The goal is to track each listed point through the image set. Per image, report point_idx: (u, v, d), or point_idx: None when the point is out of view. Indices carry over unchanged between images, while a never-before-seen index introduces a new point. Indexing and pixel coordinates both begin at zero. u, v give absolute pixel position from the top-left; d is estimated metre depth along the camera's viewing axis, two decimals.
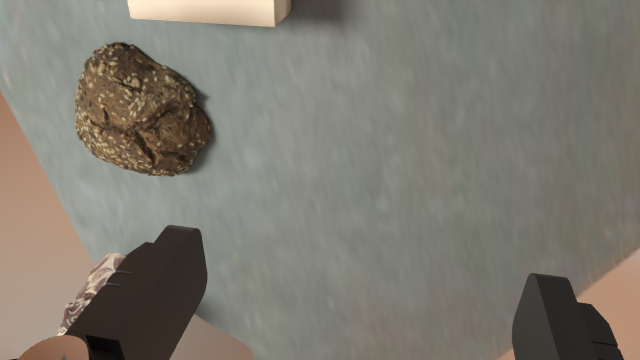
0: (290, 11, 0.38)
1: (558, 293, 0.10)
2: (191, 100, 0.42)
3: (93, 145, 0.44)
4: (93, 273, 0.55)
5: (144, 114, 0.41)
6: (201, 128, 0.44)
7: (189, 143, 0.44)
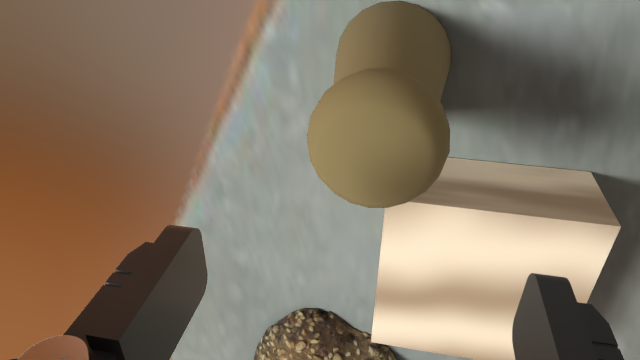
0: None
1: (558, 293, 0.10)
2: None
3: None
4: None
5: None
6: None
7: None
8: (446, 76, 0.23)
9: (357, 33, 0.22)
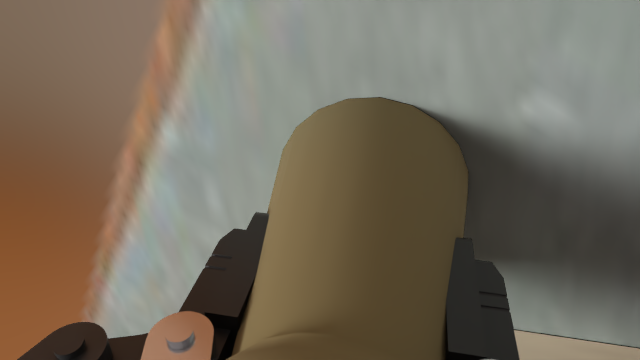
0: None
1: (459, 251, 0.11)
2: None
3: None
4: None
5: None
6: None
7: None
8: (462, 236, 0.13)
9: (300, 169, 0.12)
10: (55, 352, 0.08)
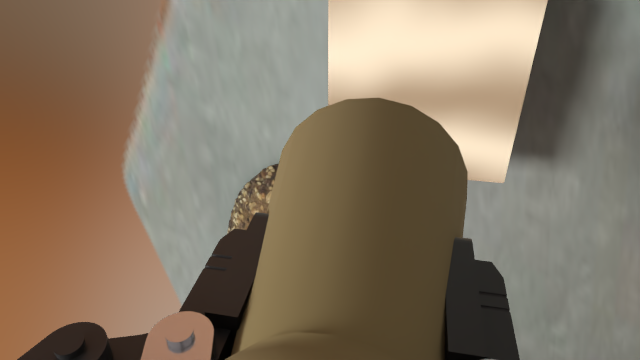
0: None
1: (459, 251, 0.11)
2: None
3: None
4: None
5: None
6: None
7: None
8: (462, 236, 0.13)
9: (299, 170, 0.12)
10: (55, 352, 0.08)
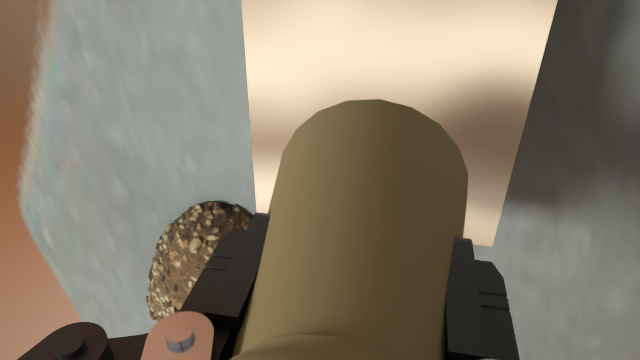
0: None
1: (459, 251, 0.11)
2: None
3: None
4: None
5: None
6: None
7: None
8: None
9: (300, 171, 0.12)
10: (55, 352, 0.08)
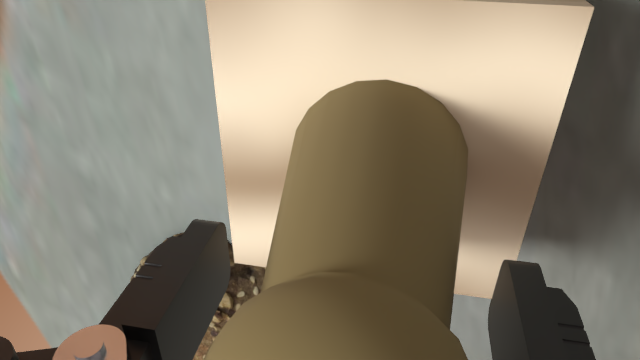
0: None
1: (528, 278, 0.10)
2: None
3: None
4: None
5: None
6: None
7: None
8: (463, 206, 0.14)
9: (315, 143, 0.13)
10: None
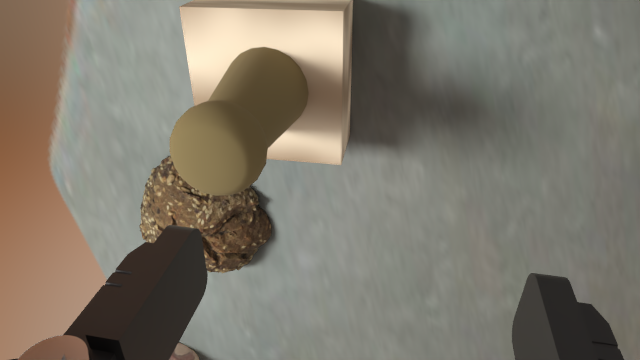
0: None
1: (558, 293, 0.10)
2: (255, 205, 0.44)
3: None
4: None
5: (211, 221, 0.43)
6: (263, 229, 0.45)
7: (252, 243, 0.45)
8: (297, 102, 0.31)
9: (227, 72, 0.30)
10: None
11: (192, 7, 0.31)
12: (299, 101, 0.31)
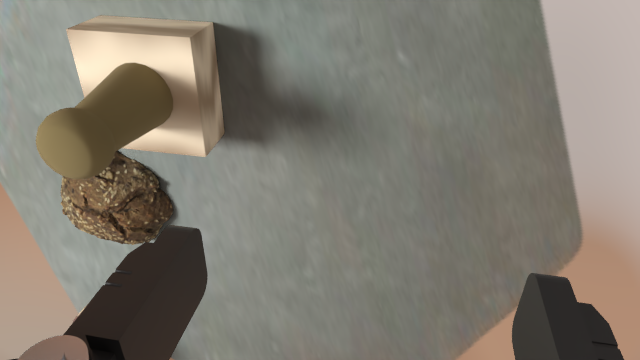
0: (223, 133, 0.48)
1: (558, 293, 0.10)
2: (155, 187, 0.52)
3: (76, 221, 0.54)
4: None
5: (116, 200, 0.51)
6: (164, 208, 0.54)
7: (154, 220, 0.54)
8: (157, 107, 0.39)
9: (100, 83, 0.39)
10: None
11: (76, 30, 0.40)
12: (160, 106, 0.40)
